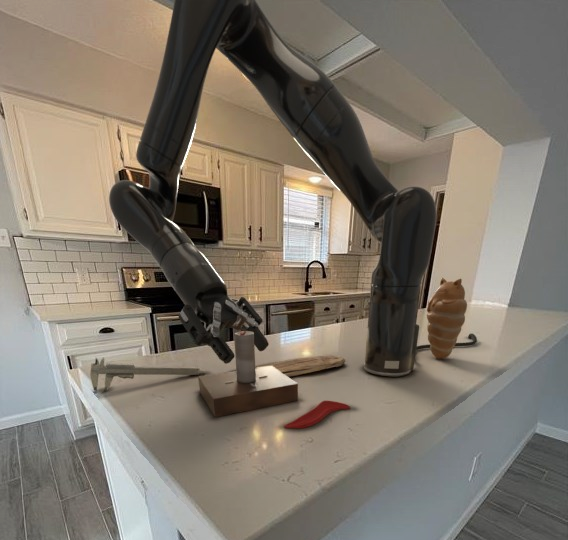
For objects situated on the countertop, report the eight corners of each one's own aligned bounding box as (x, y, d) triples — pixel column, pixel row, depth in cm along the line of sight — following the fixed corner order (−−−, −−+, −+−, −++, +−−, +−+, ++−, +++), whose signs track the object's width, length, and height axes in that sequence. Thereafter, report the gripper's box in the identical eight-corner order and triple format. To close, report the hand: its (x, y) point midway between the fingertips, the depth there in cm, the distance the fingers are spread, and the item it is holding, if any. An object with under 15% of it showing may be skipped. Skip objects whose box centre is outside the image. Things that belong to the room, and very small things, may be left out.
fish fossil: (242, 387, 59) (241, 381, 59) (225, 375, 68) (224, 370, 68) (352, 363, 70) (352, 358, 70) (325, 356, 79) (325, 351, 79)
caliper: (94, 393, 58) (86, 359, 56) (94, 391, 59) (86, 358, 56) (205, 373, 67) (203, 344, 65) (204, 372, 68) (201, 343, 66)
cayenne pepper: (342, 403, 53) (343, 392, 52) (359, 414, 49) (360, 402, 48) (275, 417, 48) (274, 405, 47) (288, 431, 44) (288, 418, 43)
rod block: (271, 379, 63) (271, 364, 62) (298, 400, 54) (298, 382, 53) (200, 392, 58) (198, 375, 56) (215, 417, 48) (213, 398, 47)
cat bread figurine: (413, 355, 78) (423, 277, 72) (438, 352, 81) (450, 276, 74) (441, 365, 70) (455, 279, 64) (468, 361, 73) (484, 278, 67)
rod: (238, 376, 56) (236, 329, 53) (257, 376, 56) (255, 329, 53) (235, 382, 53) (231, 333, 50) (254, 383, 53) (252, 333, 50)
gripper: (165, 262, 47) (229, 350, 45) (233, 261, 58) (286, 332, 56) (149, 298, 52) (206, 378, 49) (215, 291, 62) (263, 356, 60)
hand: (248, 354), depth 52 cm, fingers open, 8 cm apart
